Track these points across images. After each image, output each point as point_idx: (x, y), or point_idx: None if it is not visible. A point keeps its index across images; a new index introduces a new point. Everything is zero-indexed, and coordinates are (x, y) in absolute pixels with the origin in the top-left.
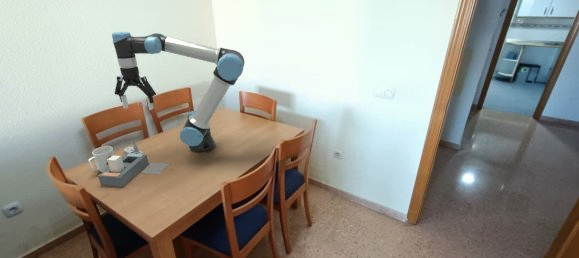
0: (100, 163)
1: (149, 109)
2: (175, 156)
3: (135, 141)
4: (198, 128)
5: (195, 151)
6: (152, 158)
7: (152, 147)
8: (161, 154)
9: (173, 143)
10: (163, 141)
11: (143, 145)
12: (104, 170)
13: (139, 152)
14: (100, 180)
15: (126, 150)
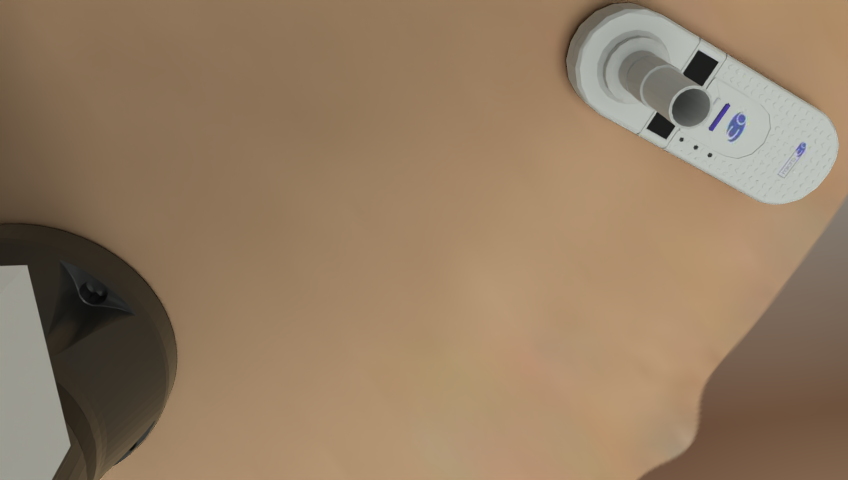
0: None
1: (8, 278)
2: (208, 126)
3: (676, 122)
4: None
5: (20, 232)
6: (439, 47)
7: (569, 262)
8: (388, 143)
9: (393, 368)
10: (521, 388)
11: (687, 284)
12: None
13: (604, 69)
14: None
15: (792, 110)
